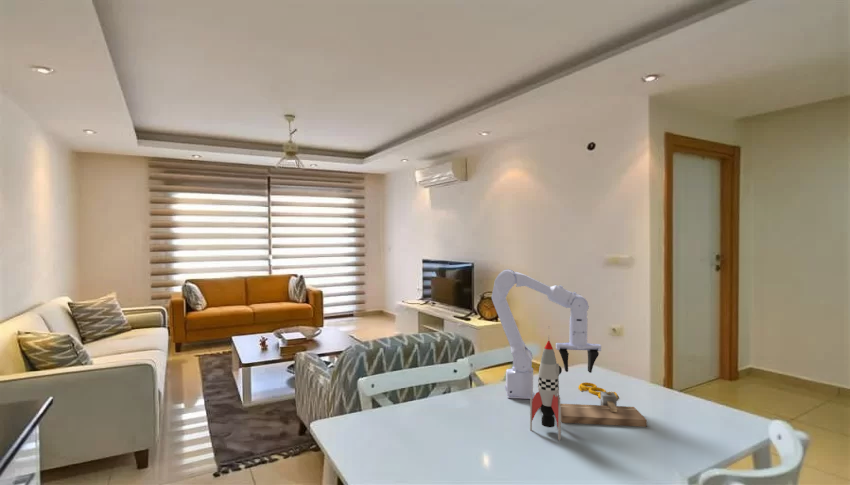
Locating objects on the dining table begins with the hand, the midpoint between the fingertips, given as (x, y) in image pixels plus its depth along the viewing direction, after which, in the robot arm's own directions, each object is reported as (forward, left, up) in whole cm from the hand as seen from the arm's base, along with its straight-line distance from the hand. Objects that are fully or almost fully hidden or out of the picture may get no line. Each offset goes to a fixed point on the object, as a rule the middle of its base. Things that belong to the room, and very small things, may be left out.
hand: (577, 371), depth 148 cm
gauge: (+8, -10, -10) cm, 16 cm away
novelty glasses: (+9, +9, -11) cm, 17 cm away
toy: (-15, -26, -10) cm, 32 cm away
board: (+3, -14, -10) cm, 17 cm away
